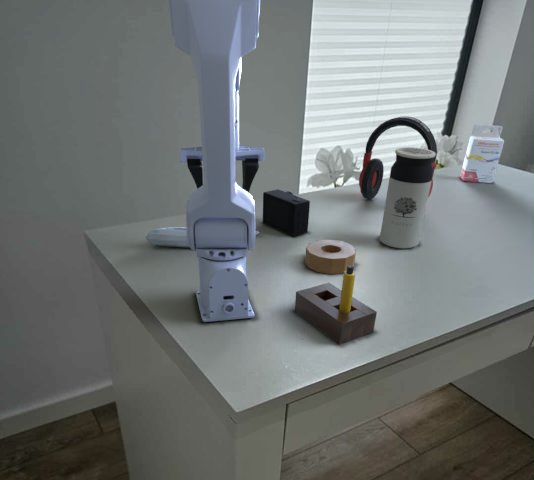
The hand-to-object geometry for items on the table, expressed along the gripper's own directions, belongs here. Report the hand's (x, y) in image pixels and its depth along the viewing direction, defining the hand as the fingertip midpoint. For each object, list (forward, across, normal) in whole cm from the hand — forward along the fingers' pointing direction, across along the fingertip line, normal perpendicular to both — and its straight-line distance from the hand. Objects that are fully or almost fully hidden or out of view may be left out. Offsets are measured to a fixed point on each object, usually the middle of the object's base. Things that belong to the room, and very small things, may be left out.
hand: (223, 202), depth 90 cm
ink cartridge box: (+10, -79, -47) cm, 92 cm away
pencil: (+10, -15, +30) cm, 35 cm away
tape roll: (+10, -19, +7) cm, 23 cm away
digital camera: (+10, -15, -13) cm, 22 cm away
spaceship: (+10, +4, -7) cm, 13 cm away
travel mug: (+10, -37, -2) cm, 38 cm away
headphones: (+10, -45, -28) cm, 54 cm away
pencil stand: (+10, -14, +28) cm, 32 cm away
